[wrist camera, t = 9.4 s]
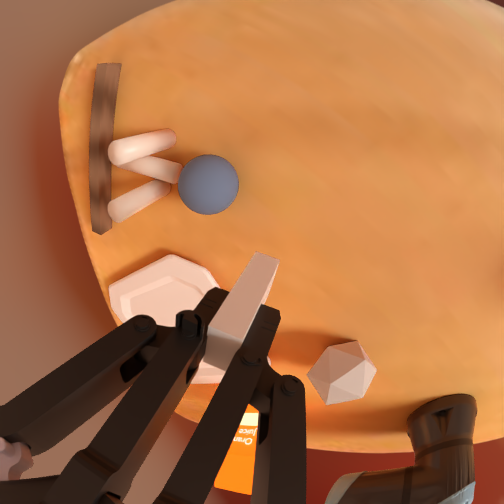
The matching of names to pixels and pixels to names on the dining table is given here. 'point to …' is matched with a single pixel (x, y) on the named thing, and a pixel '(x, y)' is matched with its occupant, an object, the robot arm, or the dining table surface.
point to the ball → (208, 184)
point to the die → (342, 373)
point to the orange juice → (240, 456)
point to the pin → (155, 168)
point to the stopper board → (102, 144)
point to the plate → (166, 298)
